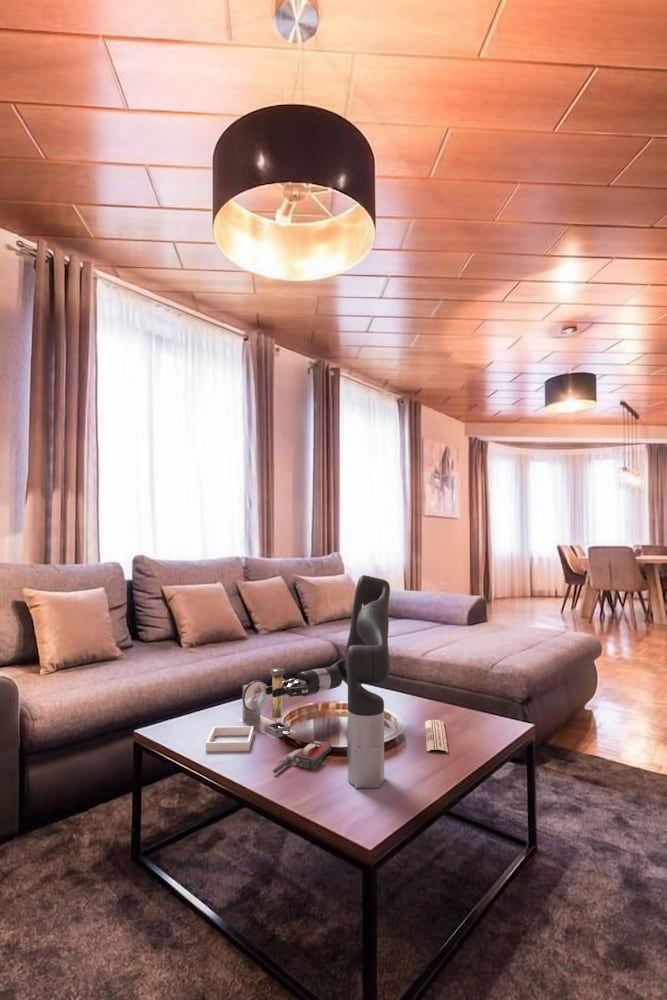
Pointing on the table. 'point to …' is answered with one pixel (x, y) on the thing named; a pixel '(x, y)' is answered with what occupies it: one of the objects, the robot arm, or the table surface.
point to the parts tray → (230, 745)
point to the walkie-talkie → (307, 756)
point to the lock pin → (276, 684)
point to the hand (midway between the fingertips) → (269, 692)
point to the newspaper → (435, 735)
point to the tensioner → (252, 705)
